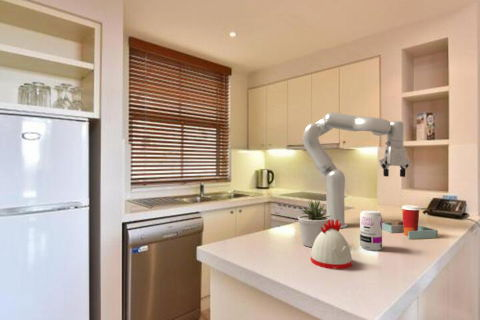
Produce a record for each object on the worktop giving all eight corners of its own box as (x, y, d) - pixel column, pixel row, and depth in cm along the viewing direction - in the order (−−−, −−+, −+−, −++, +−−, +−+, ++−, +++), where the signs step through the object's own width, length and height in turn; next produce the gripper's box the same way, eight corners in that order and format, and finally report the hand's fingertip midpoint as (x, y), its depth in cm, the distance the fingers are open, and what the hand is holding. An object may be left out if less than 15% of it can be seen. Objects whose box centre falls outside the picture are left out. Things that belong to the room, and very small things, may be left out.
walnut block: (398, 232, 141) (398, 222, 141) (391, 229, 146) (391, 220, 146) (407, 231, 142) (406, 221, 142) (399, 229, 147) (399, 219, 147)
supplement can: (380, 246, 117) (380, 210, 117) (383, 252, 109) (383, 213, 109) (359, 244, 120) (359, 209, 120) (361, 250, 112) (360, 212, 112)
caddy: (409, 239, 127) (409, 231, 127) (381, 229, 146) (381, 222, 146) (437, 237, 130) (437, 230, 130) (406, 228, 149) (406, 221, 149)
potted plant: (336, 249, 113) (336, 199, 113) (303, 249, 112) (302, 200, 112) (324, 240, 125) (324, 196, 126) (294, 241, 125) (294, 196, 125)
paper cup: (413, 233, 139) (413, 204, 139) (423, 237, 131) (423, 207, 131) (397, 232, 139) (397, 204, 139) (407, 236, 131) (407, 207, 131)
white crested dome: (360, 266, 94) (360, 222, 94) (325, 271, 90) (325, 225, 90) (335, 254, 107) (335, 215, 107) (303, 257, 103) (303, 217, 103)
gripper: (384, 143, 144) (384, 176, 144) (414, 144, 146) (414, 177, 146) (375, 144, 151) (375, 175, 151) (404, 145, 154) (403, 176, 154)
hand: (394, 176), depth 149 cm, fingers open, 9 cm apart
